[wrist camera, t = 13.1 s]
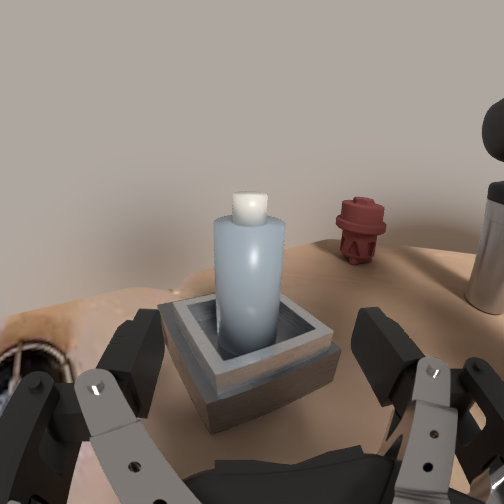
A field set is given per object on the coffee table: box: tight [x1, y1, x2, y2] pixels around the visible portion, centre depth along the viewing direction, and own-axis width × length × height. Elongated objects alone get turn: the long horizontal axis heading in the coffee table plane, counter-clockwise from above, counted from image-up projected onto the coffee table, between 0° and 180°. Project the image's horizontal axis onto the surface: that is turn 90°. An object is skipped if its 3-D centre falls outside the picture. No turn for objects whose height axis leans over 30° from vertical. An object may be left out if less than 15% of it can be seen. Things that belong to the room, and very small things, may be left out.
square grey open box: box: [157, 292, 341, 434], centre depth 25 cm, size 12×14×6 cm
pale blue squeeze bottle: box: [214, 191, 285, 356], centre depth 21 cm, size 5×5×12 cm
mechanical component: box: [336, 197, 386, 265], centre depth 50 cm, size 12×10×10 cm
